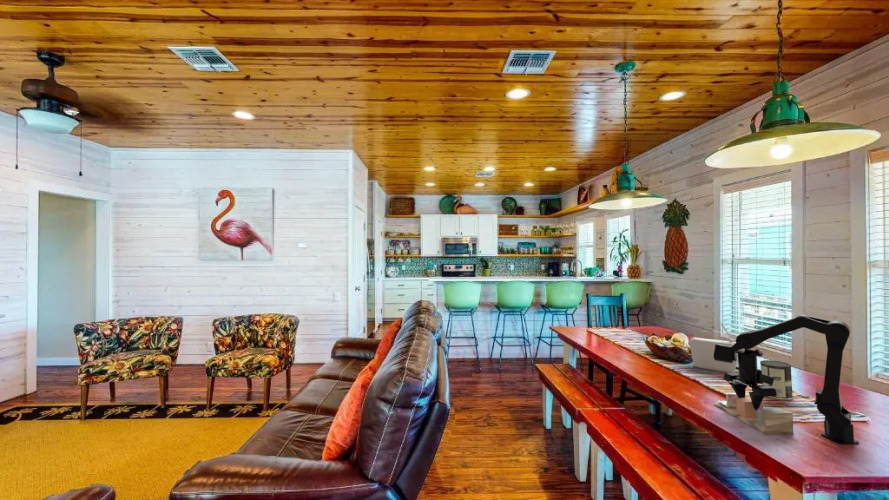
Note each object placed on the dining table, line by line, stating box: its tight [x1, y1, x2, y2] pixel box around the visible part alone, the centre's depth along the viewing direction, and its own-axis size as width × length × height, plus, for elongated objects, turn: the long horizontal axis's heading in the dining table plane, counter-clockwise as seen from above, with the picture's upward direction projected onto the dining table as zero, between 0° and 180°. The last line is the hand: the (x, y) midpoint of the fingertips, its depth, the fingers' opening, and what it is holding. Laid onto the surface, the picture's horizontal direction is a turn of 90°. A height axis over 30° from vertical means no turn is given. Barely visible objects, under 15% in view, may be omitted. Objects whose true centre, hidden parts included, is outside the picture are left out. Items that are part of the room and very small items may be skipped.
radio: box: [688, 322, 738, 373], centre depth 200 cm, size 22×8×25 cm, turn 43°
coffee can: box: [759, 359, 794, 401], centre depth 162 cm, size 10×10×14 cm
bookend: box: [717, 392, 738, 408], centre depth 151 cm, size 6×7×6 cm
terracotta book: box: [736, 397, 765, 418], centre depth 142 cm, size 4×7×6 cm, turn 88°
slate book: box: [758, 407, 781, 427], centre depth 132 cm, size 3×7×6 cm, turn 89°
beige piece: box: [714, 401, 795, 436], centre depth 142 cm, size 26×9×8 cm, turn 179°
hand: (749, 406), depth 142 cm, fingers open, 6 cm apart
